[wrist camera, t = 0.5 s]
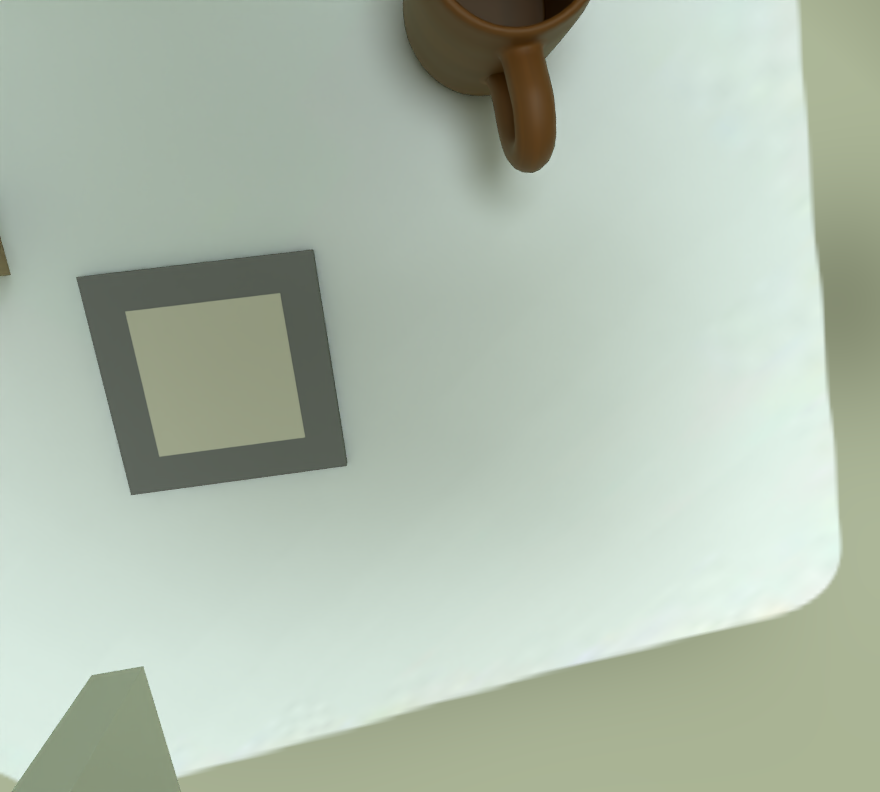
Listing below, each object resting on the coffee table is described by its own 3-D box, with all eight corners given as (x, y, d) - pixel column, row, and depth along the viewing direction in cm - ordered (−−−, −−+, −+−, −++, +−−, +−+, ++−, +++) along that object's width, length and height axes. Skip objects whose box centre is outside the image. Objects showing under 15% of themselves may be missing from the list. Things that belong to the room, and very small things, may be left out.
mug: (572, 175, 33) (643, 146, 24) (433, 201, 33) (450, 182, 23) (541, -82, 30) (608, -226, 21) (387, -56, 30) (387, -191, 21)
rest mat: (82, 276, 32) (75, 277, 31) (313, 249, 33) (312, 249, 32) (135, 491, 35) (130, 495, 34) (347, 462, 35) (346, 466, 35)
